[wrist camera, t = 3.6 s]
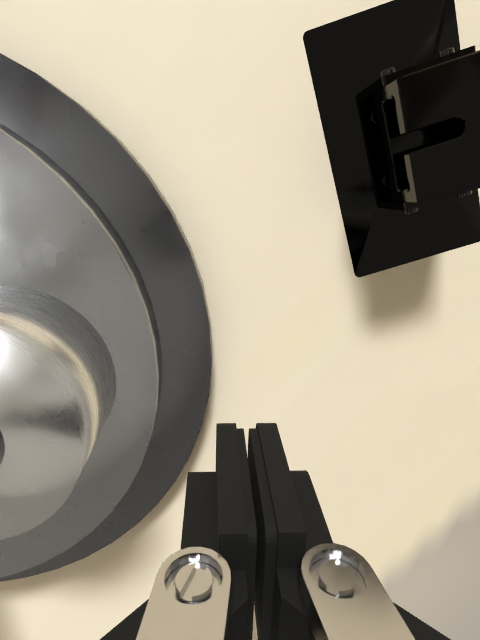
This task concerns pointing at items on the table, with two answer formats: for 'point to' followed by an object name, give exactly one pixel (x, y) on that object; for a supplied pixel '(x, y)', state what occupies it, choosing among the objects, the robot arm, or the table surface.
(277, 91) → the table surface
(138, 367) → the platter
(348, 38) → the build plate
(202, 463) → the table surface
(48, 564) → the base
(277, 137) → the table surface
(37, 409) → the cover
